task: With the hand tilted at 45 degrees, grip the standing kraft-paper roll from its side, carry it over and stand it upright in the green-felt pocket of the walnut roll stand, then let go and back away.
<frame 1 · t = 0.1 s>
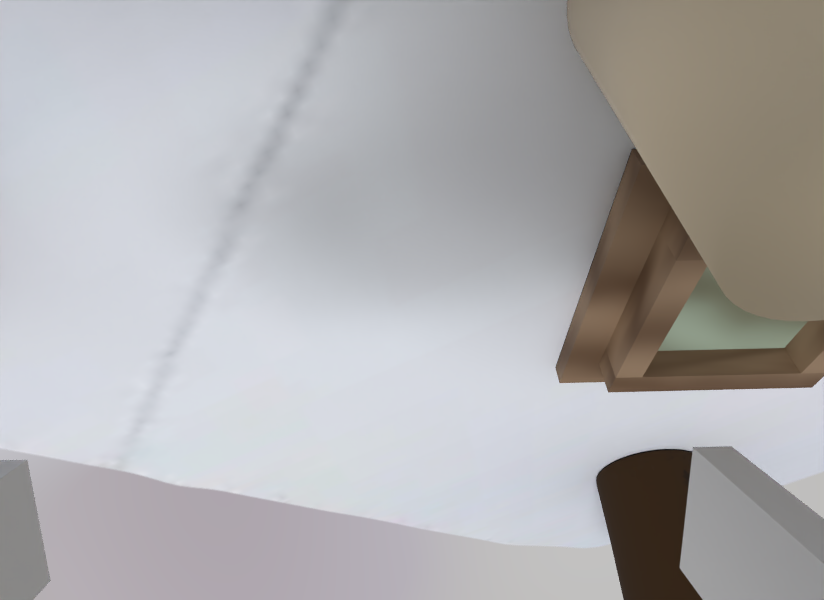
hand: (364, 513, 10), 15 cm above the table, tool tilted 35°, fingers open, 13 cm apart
olive oil: (648, 469, 46), on the table
walnut roll stand: (732, 278, 27), on the table
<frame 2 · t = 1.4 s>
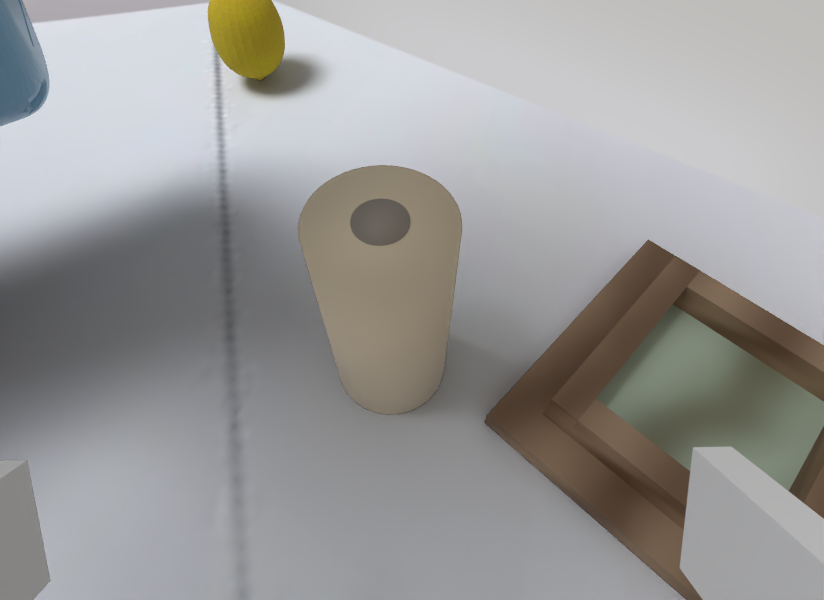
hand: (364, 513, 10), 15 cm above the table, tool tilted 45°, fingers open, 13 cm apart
lemon: (261, 81, 43), on the table
walnut roll stand: (696, 419, 27), on the table
kraft paper roll: (391, 363, 29), on the table
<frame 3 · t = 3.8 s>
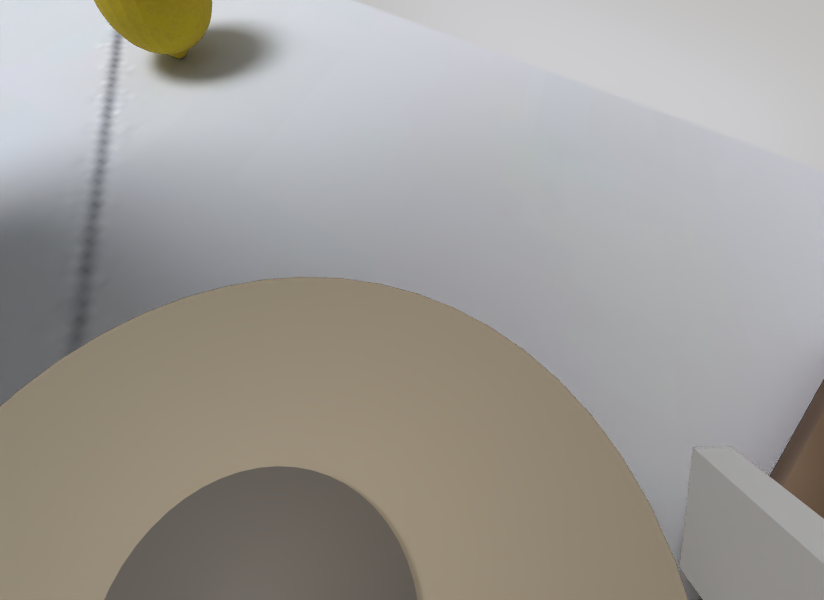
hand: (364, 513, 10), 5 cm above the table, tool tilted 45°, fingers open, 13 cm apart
lemon: (182, 60, 28), on the table
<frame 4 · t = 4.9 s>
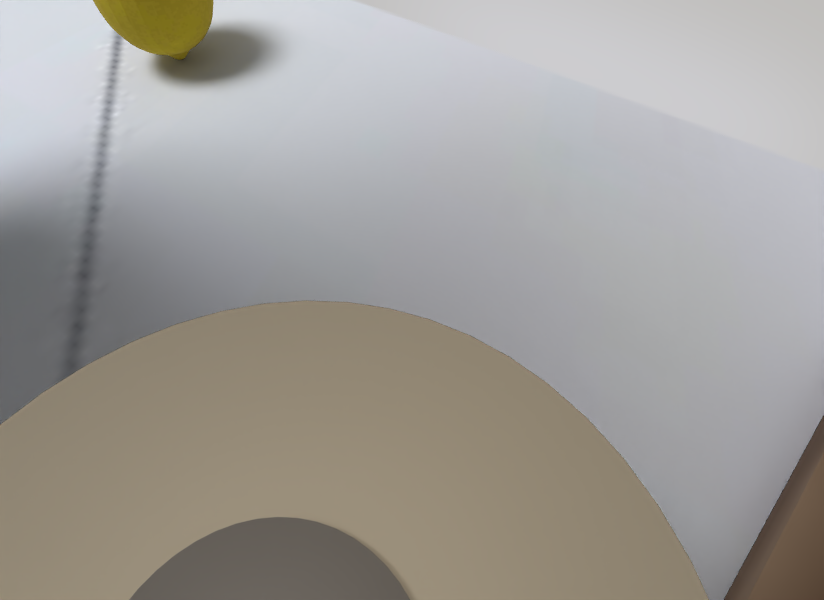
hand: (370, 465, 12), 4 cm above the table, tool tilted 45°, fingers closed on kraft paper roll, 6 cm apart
lemon: (182, 61, 28), on the table
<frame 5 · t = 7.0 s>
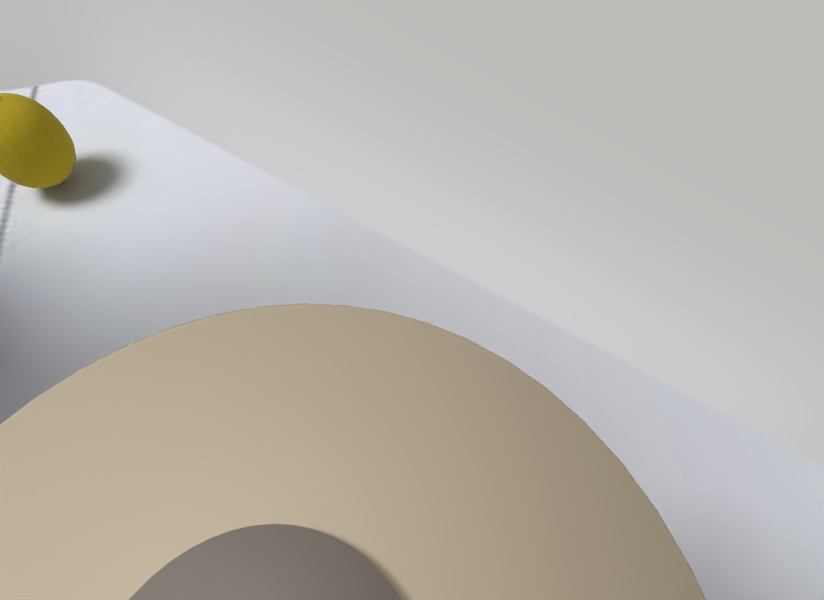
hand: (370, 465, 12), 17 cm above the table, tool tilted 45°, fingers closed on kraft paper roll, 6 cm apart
lemon: (60, 185, 40), on the table
when the fingers open (6 cm above the table, at t = 9.4 s): kraft paper roll drops 1 cm, resting on walnut roll stand.
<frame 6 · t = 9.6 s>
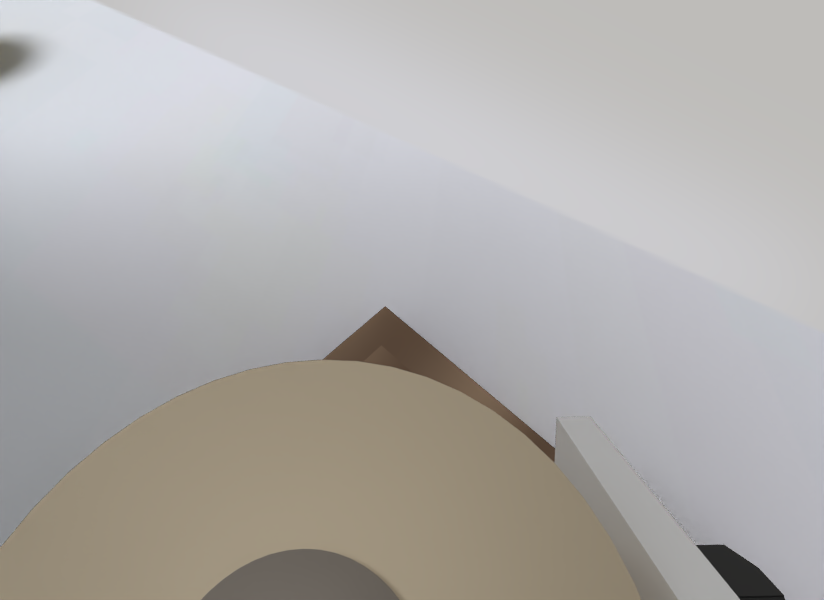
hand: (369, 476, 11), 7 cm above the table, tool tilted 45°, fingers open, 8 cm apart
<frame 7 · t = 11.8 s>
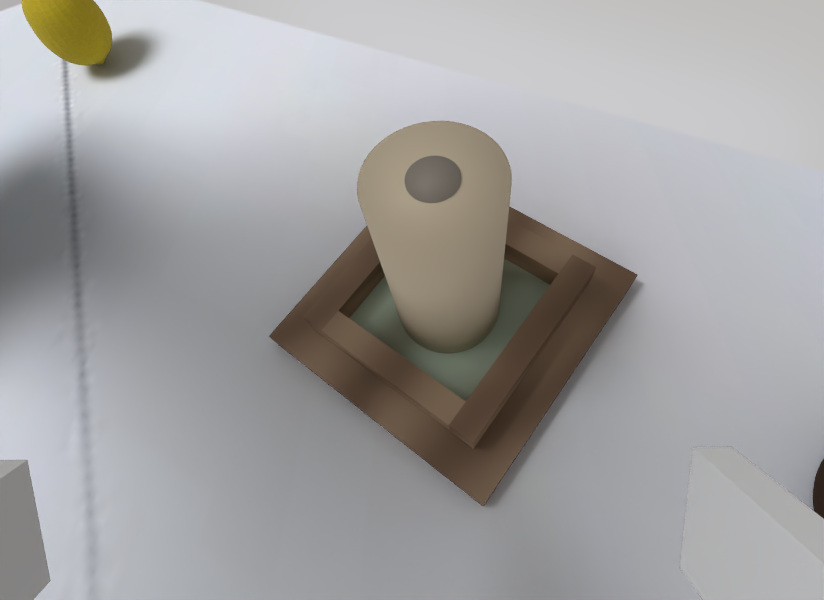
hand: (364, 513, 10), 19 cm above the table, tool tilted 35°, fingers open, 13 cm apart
lemon: (103, 64, 47), on the table
walnut roll stand: (450, 313, 32), on the table
kraft paper roll: (448, 305, 30), point 1 cm above the table, touching walnut roll stand
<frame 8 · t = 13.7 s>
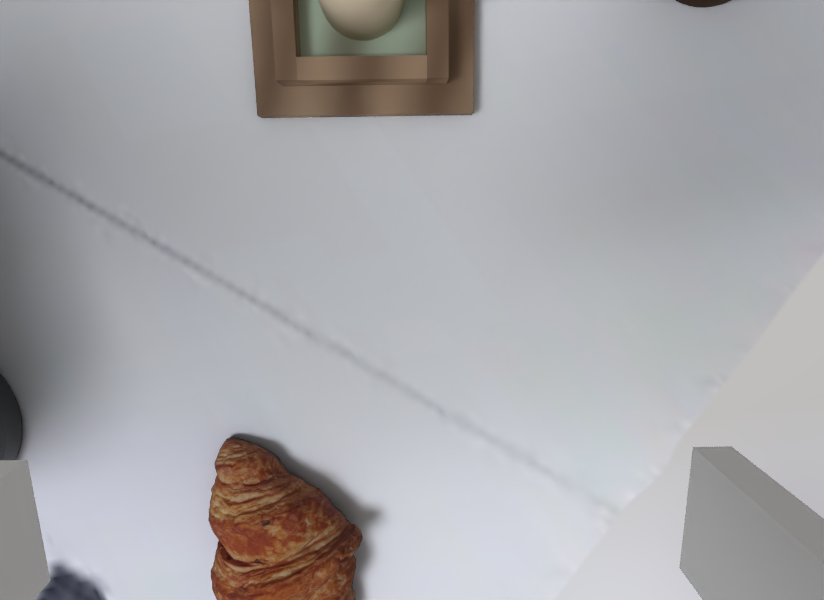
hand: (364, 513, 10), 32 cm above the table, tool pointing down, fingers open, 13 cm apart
pastry: (288, 531, 47), on the table
walnut roll stand: (363, 1, 37), on the table
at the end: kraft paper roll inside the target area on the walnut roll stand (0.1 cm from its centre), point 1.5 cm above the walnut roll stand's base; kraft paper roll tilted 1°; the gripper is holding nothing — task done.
